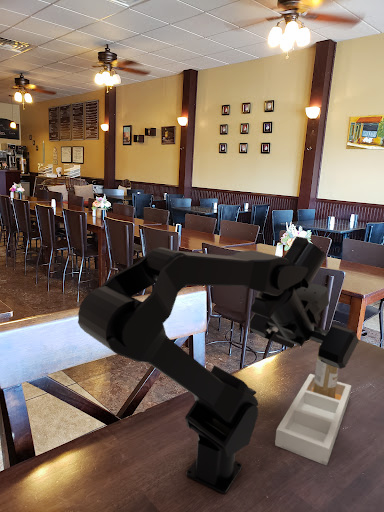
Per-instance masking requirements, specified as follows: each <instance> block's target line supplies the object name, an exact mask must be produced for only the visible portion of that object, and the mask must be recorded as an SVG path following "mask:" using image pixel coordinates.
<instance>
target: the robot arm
mask: <svg viewBox="0 0 384 512" xmlns="http://www.w3.org/2000/svg"><path fill="white" fill-rule="evenodd" d="M326 258H327V257H326V253H325V252H324V251H322V249H320V247H318V246H317V245H315V244H314V243H312V242H309V239H308V238H307V237H304V236H303V237H302V236H295V238H294V240H293V241H292V243H291V245H290V247H289V249H288V250H287V251H286V253H285V254H284V255H283V256H281V255H280V256H279V255H275V254H270V253H266V252H262V251H258V250H257V251H256V250H251V249H250V250H244V251H243V250H242V251H237V252H236V253H235V254H231V255H223V254H222V255H221V254H212V253H205V252H204V253H202V252H201V253H200V252H193V251H192V252H191V251H182V250H181V251H180V250H173V249H169V248H166V247H156V248H153V249H151V250H150V251H148V252H147V253H145V255H144V256H143V257H141V259H140V260H138V261H137V262H135V263H133V264H131V265H129V266H128V267H125V268H123V269H121V270H120V271H118V272H116V273H115V274H112V275H111V276H110V277H109V278H108V279H107V280H106V281H105V282H103V283H102V284H101V286H100V287H97V288H95V289H94V290H93V289H92V291H90V292H89V293H88V294H87V295H86V296H85V297H84V298H83V300H82V301H81V304H80V305H79V308H78V309H79V310H78V313H77V315H78V316H77V317H78V320H77V324H78V326H79V327H80V329H81V330H82V331H84V333H86V334H88V336H90V337H92V338H93V339H94V340H96V341H98V342H99V343H100V344H102V345H103V346H105V347H106V348H107V349H108V350H111V352H113V353H115V354H116V355H118V356H121V357H124V358H127V359H129V360H131V361H135V362H136V363H142V364H143V363H144V364H149V365H150V366H152V367H153V368H154V369H156V370H158V372H160V373H162V375H165V376H166V377H167V378H169V379H171V380H172V381H173V382H174V383H176V384H177V385H179V386H180V387H181V388H183V389H184V390H186V391H188V392H189V393H190V394H192V395H193V398H194V403H193V404H192V406H191V407H190V409H189V410H188V412H187V414H186V415H185V417H184V419H185V422H186V426H187V428H188V429H191V430H193V431H194V432H195V433H197V434H198V435H197V445H196V446H197V447H196V459H195V460H194V462H193V463H191V465H190V466H189V468H188V469H187V470H186V472H185V474H186V477H188V478H190V479H192V480H194V481H196V482H198V483H201V484H202V485H204V486H207V487H209V488H210V489H213V490H215V491H217V492H219V493H221V494H226V493H227V492H228V491H229V489H230V488H231V486H232V484H233V483H234V481H235V479H236V478H237V477H238V475H239V474H240V472H241V470H242V467H243V465H242V463H240V462H239V461H236V453H237V452H238V451H240V450H242V449H243V448H245V447H246V446H248V445H249V444H250V442H251V438H252V435H253V433H254V430H255V427H256V423H257V420H258V416H259V409H258V406H259V401H258V399H257V397H256V396H255V395H256V394H257V391H256V390H254V389H253V388H251V387H249V386H248V385H247V383H246V382H245V381H244V380H242V379H240V378H238V377H237V376H235V375H233V374H231V373H229V372H228V371H226V370H224V369H222V368H220V367H219V366H216V365H213V367H212V369H211V371H210V370H209V369H208V368H206V367H205V366H204V365H202V364H201V363H200V362H199V361H198V360H197V359H195V358H194V357H192V356H191V355H190V354H189V353H188V352H187V351H185V350H184V349H183V348H182V347H180V346H179V345H178V344H176V343H175V342H174V341H173V340H172V339H170V338H169V336H167V333H166V329H165V325H164V323H165V322H166V321H167V320H168V319H169V318H170V316H171V315H172V312H173V309H174V306H175V303H176V300H177V298H178V297H177V296H178V295H179V294H178V293H179V292H180V291H182V289H183V288H184V287H185V286H201V287H202V286H206V287H207V286H211V287H212V286H213V287H214V286H215V287H217V286H219V287H245V288H246V289H251V290H254V291H256V292H257V295H256V296H255V297H254V300H253V302H252V304H251V306H250V312H251V313H253V314H252V316H251V318H250V319H249V323H248V327H249V329H250V330H251V332H252V333H253V334H255V335H258V336H259V337H262V338H263V339H266V340H269V341H270V342H273V343H276V344H279V345H281V346H284V347H286V348H289V349H293V347H294V346H295V345H297V346H299V347H301V348H302V346H303V344H305V342H307V341H309V340H310V341H313V342H315V343H318V344H319V343H320V344H321V345H320V347H319V346H318V351H319V352H318V353H317V357H318V356H319V358H320V359H321V362H323V363H326V364H328V365H330V366H333V367H337V368H339V370H342V369H343V368H346V366H347V364H348V363H349V361H350V359H351V357H352V355H353V353H354V351H355V349H356V346H357V345H358V344H359V341H360V340H359V337H358V336H357V334H356V332H355V330H352V329H349V328H347V327H343V326H340V325H337V324H333V325H331V326H330V327H329V329H328V330H327V329H324V328H321V327H318V326H315V325H318V324H319V322H320V320H321V316H320V313H322V311H323V310H324V309H325V308H326V307H328V306H329V304H330V301H329V300H330V299H329V291H328V287H327V286H324V285H321V284H318V283H313V280H314V279H315V277H316V275H317V274H318V272H319V270H320V269H321V266H323V264H324V262H325V261H326ZM153 285H154V286H153ZM152 286H153V289H152V290H151V293H150V294H149V295H148V296H147V297H145V298H144V300H143V301H141V300H139V299H137V298H135V297H133V296H135V295H136V294H139V293H140V292H142V291H144V290H146V289H148V288H150V287H152Z"/></svg>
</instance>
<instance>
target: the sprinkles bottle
mask: <svg viewBox="0 0 384 512" xmlns="http://www.w3.org/2000/svg"><path fill="white" fill-rule="evenodd" d="M320 345H321V344H320V343H318V348H319V347H320ZM317 351H318V352H319V350H317ZM339 370H340V369H339V368H337V367H333V366H330V365H328V364H326V363H323V362H321V359H320V358H319V356H318V355H317V357H316V364H315V371H314V375H315V379H314V381H315V382H314V389H313V392H315V393H318V394H321V395H324V396H328V397H331V398H334V399H335V391H336V385H337V382H338V378H339V372H340V371H339Z"/></svg>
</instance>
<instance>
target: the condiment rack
mask: <svg viewBox="0 0 384 512" xmlns="http://www.w3.org/2000/svg"><path fill="white" fill-rule="evenodd" d="M314 379H315V374H312V373H309V375H308V376H307V378H306V380H305V381H304V383H303V385H302V386H301V388H300V390H299V392H298V393H297V394H296V397H295V398H294V399H293V401H292V403H291V404H290V406H289V408H288V410H287V412H286V413H285V415H284V416H283V418H282V420H281V421H280V423H279V425H278V426H277V428H276V432H275V439H274V440H275V441H274V446H276V447H278V448H281V449H283V450H287V451H289V452H291V453H293V454H295V455H298V456H301V457H304V458H306V459H309V460H311V461H314V462H316V463H319V464H321V465H323V466H328V463H329V461H330V458H331V454H332V453H333V448H334V445H335V442H336V439H337V437H338V433H339V431H340V427H341V425H342V422H343V418H344V416H345V413H346V411H347V410H346V409H347V406H348V404H349V400H350V397H351V390H352V385H350V384H348V383H344V382H340V381H337V385H336V391H335V399H334V398H331V397H328V396H324V395H321V394H318V393H315V392H313V389H314V382H315V381H314Z"/></svg>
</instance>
